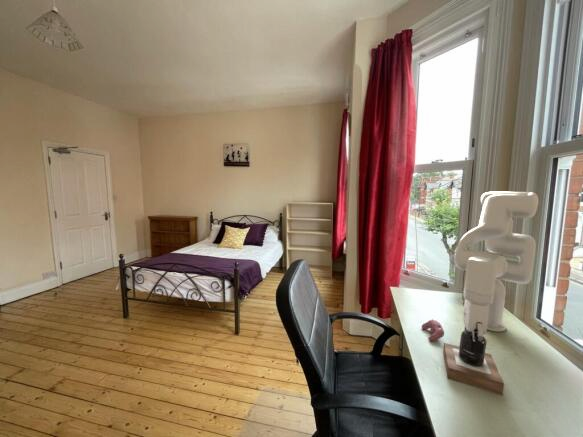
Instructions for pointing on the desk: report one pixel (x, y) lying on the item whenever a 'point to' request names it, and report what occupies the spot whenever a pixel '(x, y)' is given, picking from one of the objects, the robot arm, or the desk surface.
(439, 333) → the video game controller
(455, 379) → the brown picture frame
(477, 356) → the supplement bottle
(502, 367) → the desk surface
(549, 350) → the desk surface
